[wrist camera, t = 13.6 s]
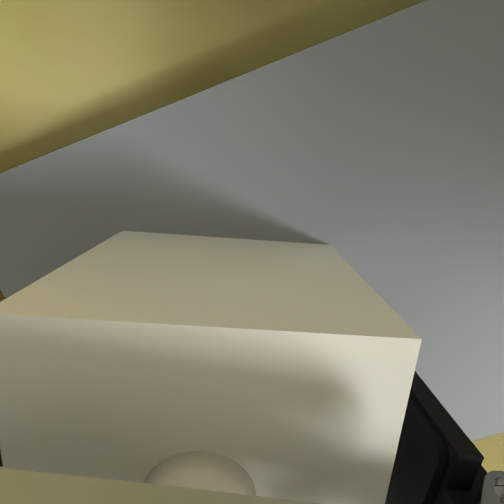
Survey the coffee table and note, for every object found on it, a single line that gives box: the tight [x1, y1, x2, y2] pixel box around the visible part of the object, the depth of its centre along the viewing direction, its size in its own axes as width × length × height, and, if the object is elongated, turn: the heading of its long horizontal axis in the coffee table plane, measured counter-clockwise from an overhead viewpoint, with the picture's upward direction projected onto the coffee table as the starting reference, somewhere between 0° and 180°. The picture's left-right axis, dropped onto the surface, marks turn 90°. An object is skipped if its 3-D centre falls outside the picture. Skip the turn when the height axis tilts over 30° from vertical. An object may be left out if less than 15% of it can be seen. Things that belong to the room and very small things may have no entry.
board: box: [0, 0, 504, 441], centre depth 12 cm, size 22×15×1 cm
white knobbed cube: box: [0, 231, 422, 504], centre depth 8 cm, size 7×7×7 cm
